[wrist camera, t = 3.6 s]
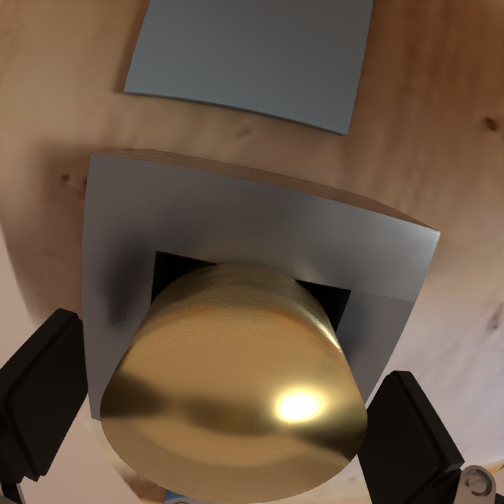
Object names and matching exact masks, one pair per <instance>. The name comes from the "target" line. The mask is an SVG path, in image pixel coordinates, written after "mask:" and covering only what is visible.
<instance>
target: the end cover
mask: <svg viewBox="0 0 504 504" xmlns="http://www.w3.org/2000/svg"><path fill="white" fill-rule="evenodd" d="M100 419H101V424H102V428H103V431H104V433H105V435H106V438H107V440H108V441H109V443H110V445H111V446H112V448H113V449H114V451H115V452H116V453H117V454H118V455H119V457H120V458H121V459H122V460H123V461H124V462H125V463H126V464H127V465H128V466H130V467H131V468H132V469H133V470H135V471H136V472H137V473H138V474H140V475H141V476H143V477H145V478H146V479H148V480H149V481H151V482H153V483H155V484H157V485H159V486H161V487H163V488H165V489H167V490H170V491H172V492H175V493H178V494H181V495H184V496H187V497H191V498H195V499H199V500H204V501H209V502H216V503H227V504H253V503H263V502H270V501H275V500H280V499H285V498H288V497H292V496H295V495H298V494H301V493H304V492H306V491H309V490H311V489H313V488H315V487H317V486H319V485H321V484H323V483H324V482H326V481H328V480H329V479H331V478H332V477H334V476H335V475H336V474H338V473H339V472H340V471H341V470H343V469H344V468H345V467H346V466H347V465H348V464H349V463H350V462H351V460H352V459H353V458H354V457H355V456H356V454H357V452H358V451H359V449H360V448H361V446H362V443H363V441H364V438H365V435H366V431H367V412H366V408H365V404H364V402H363V399H362V397H361V394H360V392H359V389H358V387H357V385H356V382H355V380H354V377H353V375H352V372H351V370H350V368H349V365H348V363H347V361H346V358H345V356H344V353H343V351H342V349H341V346H340V344H339V342H338V339H337V337H336V335H335V332H334V330H333V328H332V326H331V323H330V321H329V319H328V317H327V315H326V313H325V311H324V309H323V307H322V305H321V304H320V303H319V301H318V300H317V298H316V297H315V296H314V295H313V294H312V293H311V292H310V291H309V290H308V289H307V288H306V287H304V286H303V285H302V284H300V283H299V282H298V281H296V280H295V279H293V278H291V277H289V276H288V275H286V274H284V273H281V272H279V271H276V270H274V269H271V268H267V267H263V266H260V265H254V264H247V263H223V264H218V263H213V262H208V261H204V260H199V259H196V260H195V261H194V263H193V265H192V267H191V269H190V271H189V272H188V273H186V274H185V275H183V276H181V277H179V278H177V279H176V280H174V281H173V282H172V283H170V284H169V285H168V286H166V287H165V288H164V289H163V290H162V291H161V292H160V293H159V294H158V296H157V297H156V298H155V300H154V301H153V303H152V304H151V306H150V308H149V309H148V311H147V313H146V315H145V316H144V318H143V320H142V322H141V323H140V325H139V327H138V329H137V331H136V332H135V334H134V336H133V338H132V340H131V341H130V343H129V345H128V347H127V349H126V351H125V352H124V354H123V356H122V358H121V360H120V362H119V364H118V366H117V367H116V369H115V371H114V373H113V375H112V377H111V379H110V381H109V383H108V385H107V387H106V389H105V391H104V393H103V396H102V399H101V405H100Z"/></svg>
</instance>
